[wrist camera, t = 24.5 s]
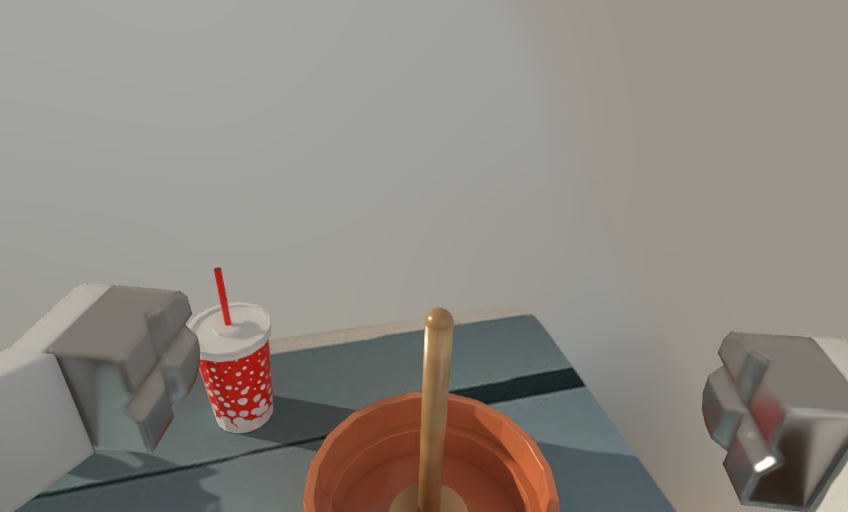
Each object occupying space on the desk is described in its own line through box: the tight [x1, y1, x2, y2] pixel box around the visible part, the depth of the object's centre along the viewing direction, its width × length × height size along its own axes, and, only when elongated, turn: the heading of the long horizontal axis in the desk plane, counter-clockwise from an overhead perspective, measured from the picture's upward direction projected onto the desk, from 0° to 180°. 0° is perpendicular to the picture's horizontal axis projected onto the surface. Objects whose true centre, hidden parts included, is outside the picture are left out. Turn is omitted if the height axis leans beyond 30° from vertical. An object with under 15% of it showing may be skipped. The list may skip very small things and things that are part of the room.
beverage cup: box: [187, 267, 274, 433], centre depth 43 cm, size 6×6×14 cm
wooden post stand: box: [388, 308, 468, 512], centre depth 32 cm, size 5×5×18 cm
